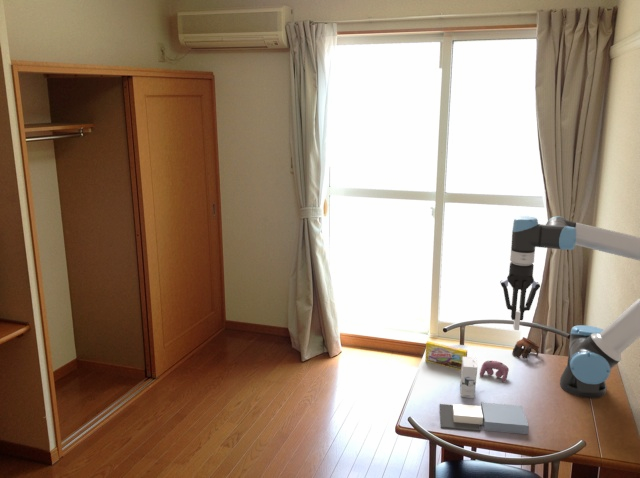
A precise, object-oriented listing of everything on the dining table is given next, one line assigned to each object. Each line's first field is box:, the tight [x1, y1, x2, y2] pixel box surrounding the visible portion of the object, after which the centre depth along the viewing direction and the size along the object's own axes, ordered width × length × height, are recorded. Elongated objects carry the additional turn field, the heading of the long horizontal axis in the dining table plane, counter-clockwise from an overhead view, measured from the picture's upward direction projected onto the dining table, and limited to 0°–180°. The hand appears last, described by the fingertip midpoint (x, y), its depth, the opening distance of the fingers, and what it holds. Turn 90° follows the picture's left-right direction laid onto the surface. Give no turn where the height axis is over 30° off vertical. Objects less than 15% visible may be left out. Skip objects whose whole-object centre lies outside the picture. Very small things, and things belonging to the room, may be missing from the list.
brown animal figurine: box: [511, 337, 540, 359], centre depth 231 cm, size 12×10×8 cm
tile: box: [452, 403, 484, 426], centre depth 187 cm, size 9×7×2 cm
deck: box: [480, 401, 529, 435], centre depth 185 cm, size 13×12×3 cm
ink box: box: [459, 356, 478, 399], centre depth 203 cm, size 9×5×12 cm, turn 168°
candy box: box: [424, 340, 468, 371], centre depth 223 cm, size 16×2×8 cm, turn 58°
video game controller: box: [479, 360, 510, 383], centre depth 215 cm, size 10×5×7 cm, turn 59°
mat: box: [439, 403, 481, 433], centre depth 187 cm, size 12×14×1 cm
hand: (516, 328), depth 198 cm, fingers closed
